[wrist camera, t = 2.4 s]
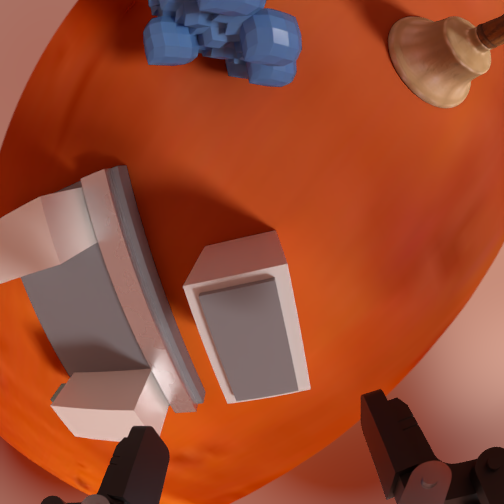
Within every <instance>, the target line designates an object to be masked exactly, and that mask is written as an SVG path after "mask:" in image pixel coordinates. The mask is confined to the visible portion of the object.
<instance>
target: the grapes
mask: <svg viewBox="0 0 504 504" xmlns="http://www.w3.org/2000/svg"><path fill="white" fill-rule="evenodd" d="M265 3H266V0H148V4H149V7H151V12H152V15H156V16H158V17H156V18H152V19H151V20H150V21H149V23H148V24H147V25H146V27H145V29H144V31H143V43H144V48H145V53H146V57H147V61H148V65H169V66H175V65H182V64H186V63H189V62H191V61H193V60H194V59H195V58H196V57H197V56H198V53H202V56H204V57H211V58H217V59H225V61H226V67H227V71H228V76H232V77H238V78H246V79H249V83H252V84H257V85H263V86H270V87H282V86H285V85H287V84H289V83H291V82H292V81H293V79H294V77H295V75H296V72H297V71H296V60H297V59H298V56H299V54H300V52H301V50H302V41H301V33H300V30H299V26H298V23H297V20H296V17H294V16H292V15H290V14H287V13H285V12H281V11H278V10H274V9H268V8H264V6H265ZM263 8H264V9H263Z"/></svg>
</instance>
